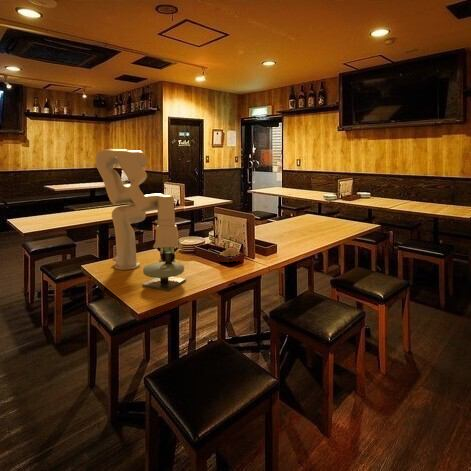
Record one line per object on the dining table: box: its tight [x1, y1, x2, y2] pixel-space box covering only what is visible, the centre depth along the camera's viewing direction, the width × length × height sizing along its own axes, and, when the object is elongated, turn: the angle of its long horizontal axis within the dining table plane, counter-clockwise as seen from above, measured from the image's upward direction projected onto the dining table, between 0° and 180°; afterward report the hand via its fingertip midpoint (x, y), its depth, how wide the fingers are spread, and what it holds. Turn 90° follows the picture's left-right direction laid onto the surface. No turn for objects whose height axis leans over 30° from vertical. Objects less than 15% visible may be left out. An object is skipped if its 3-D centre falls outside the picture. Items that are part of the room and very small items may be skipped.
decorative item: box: [219, 247, 241, 256], centre depth 199 cm, size 12×9×10 cm
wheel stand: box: [141, 276, 187, 292], centre depth 166 cm, size 14×14×6 cm
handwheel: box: [142, 252, 185, 279], centre depth 164 cm, size 18×18×6 cm
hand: (168, 260), depth 171 cm, fingers closed on handwheel, 3 cm apart
